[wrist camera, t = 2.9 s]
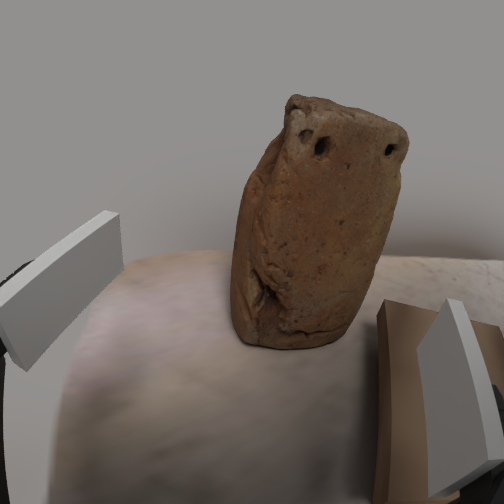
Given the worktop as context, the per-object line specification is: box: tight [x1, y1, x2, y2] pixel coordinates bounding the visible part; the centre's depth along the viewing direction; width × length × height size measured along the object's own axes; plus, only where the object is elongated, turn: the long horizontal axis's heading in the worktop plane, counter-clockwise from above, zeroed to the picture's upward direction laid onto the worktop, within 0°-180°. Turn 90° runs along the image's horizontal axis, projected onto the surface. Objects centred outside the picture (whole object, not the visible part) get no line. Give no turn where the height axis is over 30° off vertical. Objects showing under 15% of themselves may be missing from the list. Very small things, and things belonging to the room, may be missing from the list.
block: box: [230, 94, 409, 349], centre depth 24 cm, size 11×8×20 cm
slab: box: [372, 299, 504, 504], centre depth 19 cm, size 14×18×5 cm
